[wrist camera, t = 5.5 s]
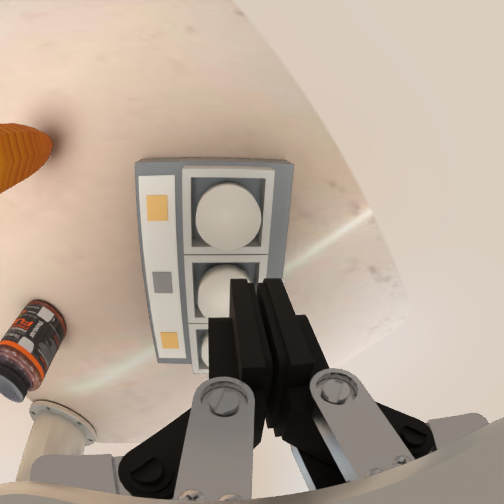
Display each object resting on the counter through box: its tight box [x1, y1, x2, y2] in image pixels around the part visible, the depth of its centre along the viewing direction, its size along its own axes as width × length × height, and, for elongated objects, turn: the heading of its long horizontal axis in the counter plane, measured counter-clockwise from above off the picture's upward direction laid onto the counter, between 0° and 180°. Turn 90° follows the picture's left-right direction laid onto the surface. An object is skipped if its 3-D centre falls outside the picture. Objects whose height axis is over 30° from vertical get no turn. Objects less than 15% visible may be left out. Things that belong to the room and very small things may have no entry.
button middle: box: [198, 264, 252, 319], centre depth 23 cm, size 4×4×2 cm
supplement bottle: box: [0, 301, 66, 402], centre depth 23 cm, size 6×6×11 cm
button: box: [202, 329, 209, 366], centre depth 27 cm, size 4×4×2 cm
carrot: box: [0, 123, 53, 194], centre depth 14 cm, size 5×5×15 cm
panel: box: [135, 158, 294, 373], centre depth 26 cm, size 20×12×4 cm, turn 177°
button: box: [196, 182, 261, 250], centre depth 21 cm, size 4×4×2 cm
